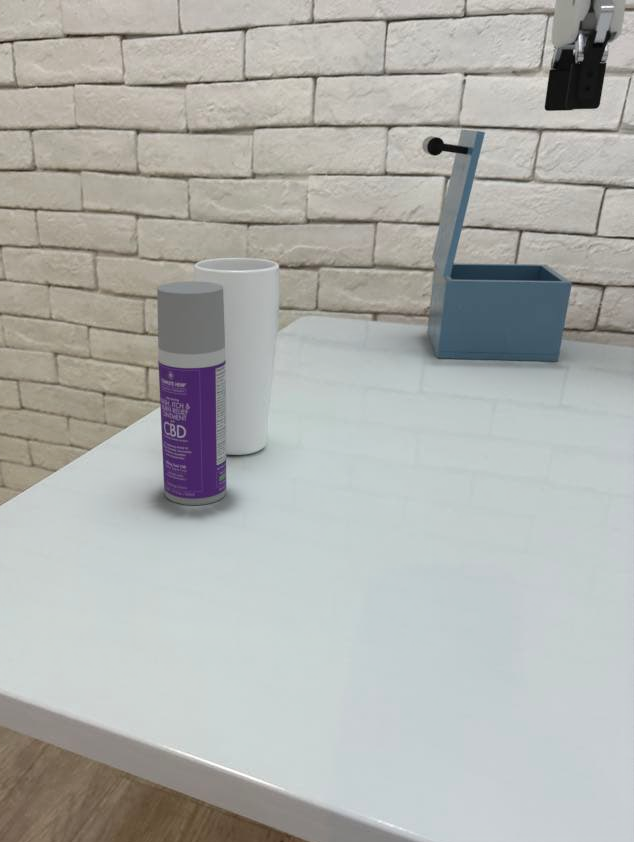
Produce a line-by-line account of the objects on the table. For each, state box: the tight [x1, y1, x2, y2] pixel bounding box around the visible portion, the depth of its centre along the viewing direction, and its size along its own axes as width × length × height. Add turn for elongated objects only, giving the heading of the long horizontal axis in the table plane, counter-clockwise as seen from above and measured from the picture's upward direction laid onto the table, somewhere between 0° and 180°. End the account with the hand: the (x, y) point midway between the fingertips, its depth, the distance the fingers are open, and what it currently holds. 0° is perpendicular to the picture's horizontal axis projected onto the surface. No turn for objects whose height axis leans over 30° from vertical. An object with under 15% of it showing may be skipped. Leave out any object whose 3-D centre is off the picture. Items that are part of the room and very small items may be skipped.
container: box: [156, 280, 227, 506], centre depth 58 cm, size 5×5×15 cm
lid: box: [421, 129, 486, 277], centre depth 94 cm, size 15×13×5 cm
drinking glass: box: [193, 257, 281, 456], centre depth 67 cm, size 7×7×15 cm
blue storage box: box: [426, 262, 573, 362], centre depth 98 cm, size 14×13×9 cm
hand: (570, 109), depth 87 cm, fingers open, 9 cm apart
